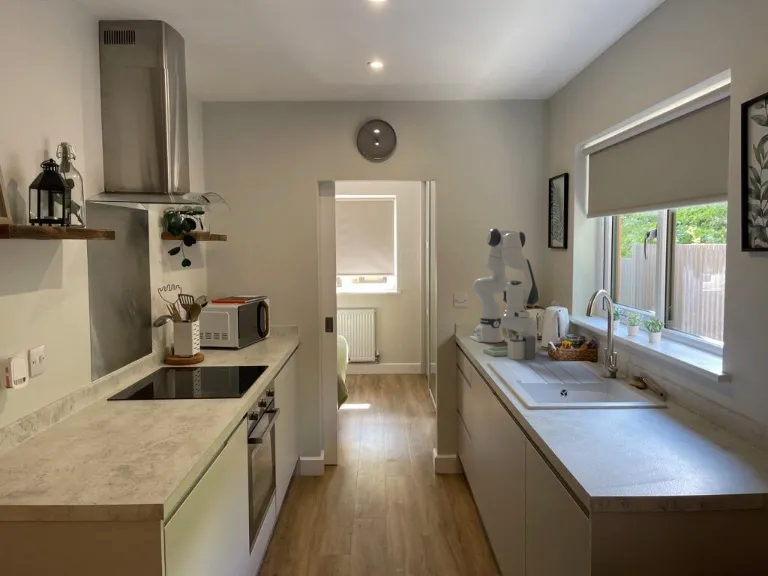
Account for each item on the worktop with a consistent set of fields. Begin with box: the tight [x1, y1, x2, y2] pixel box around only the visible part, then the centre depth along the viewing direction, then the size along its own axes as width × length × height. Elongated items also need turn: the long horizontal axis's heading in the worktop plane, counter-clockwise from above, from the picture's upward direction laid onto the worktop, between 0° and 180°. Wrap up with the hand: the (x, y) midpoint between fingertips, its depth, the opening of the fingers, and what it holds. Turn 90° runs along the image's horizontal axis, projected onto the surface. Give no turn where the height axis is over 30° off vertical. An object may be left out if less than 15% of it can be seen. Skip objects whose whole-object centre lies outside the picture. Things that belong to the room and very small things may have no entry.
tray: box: [482, 345, 508, 357], centre depth 299 cm, size 11×16×2 cm
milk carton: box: [517, 316, 538, 354], centre depth 301 cm, size 7×7×19 cm
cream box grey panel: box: [507, 338, 526, 360], centre depth 287 cm, size 5×10×10 cm, turn 111°
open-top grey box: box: [514, 333, 536, 360], centre depth 288 cm, size 10×6×12 cm, turn 21°
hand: (515, 338), depth 285 cm, fingers open, 8 cm apart
